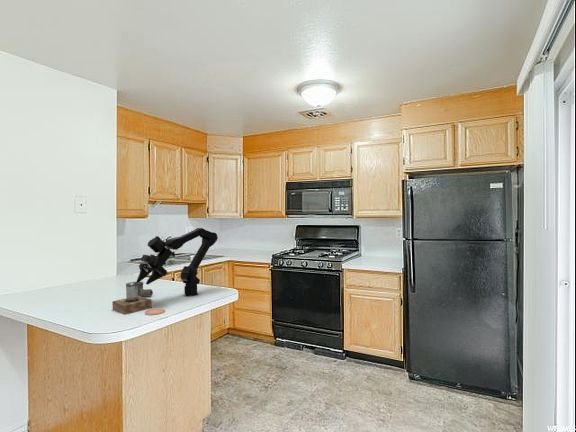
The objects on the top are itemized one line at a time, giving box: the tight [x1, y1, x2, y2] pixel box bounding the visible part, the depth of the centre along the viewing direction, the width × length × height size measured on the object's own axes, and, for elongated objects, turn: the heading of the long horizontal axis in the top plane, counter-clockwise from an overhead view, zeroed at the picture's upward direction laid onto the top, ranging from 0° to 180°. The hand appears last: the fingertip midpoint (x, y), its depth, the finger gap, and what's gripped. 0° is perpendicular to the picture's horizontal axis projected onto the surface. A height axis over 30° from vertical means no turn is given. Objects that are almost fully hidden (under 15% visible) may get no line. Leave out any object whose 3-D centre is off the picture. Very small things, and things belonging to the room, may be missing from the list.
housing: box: [112, 296, 153, 315], centre depth 167 cm, size 13×13×4 cm
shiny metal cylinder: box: [125, 281, 138, 303], centre depth 167 cm, size 5×5×12 cm
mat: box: [144, 308, 166, 316], centre depth 160 cm, size 9×9×1 cm
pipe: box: [136, 281, 154, 297], centre depth 191 cm, size 6×13×8 cm, turn 78°
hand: (141, 283), depth 171 cm, fingers open, 9 cm apart
